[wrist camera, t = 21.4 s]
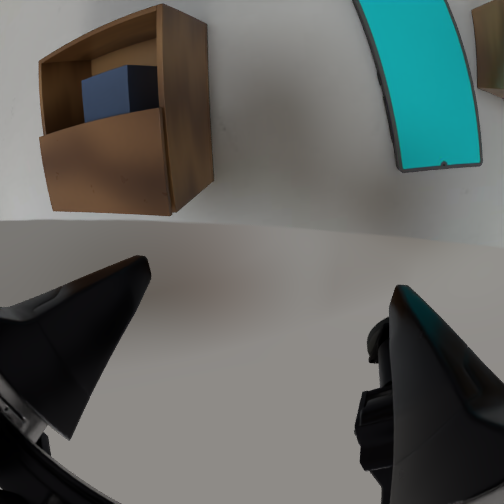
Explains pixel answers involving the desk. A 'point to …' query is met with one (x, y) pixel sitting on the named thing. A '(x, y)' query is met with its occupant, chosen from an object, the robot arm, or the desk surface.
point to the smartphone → (423, 83)
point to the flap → (109, 165)
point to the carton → (169, 86)
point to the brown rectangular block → (490, 46)
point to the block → (120, 92)
